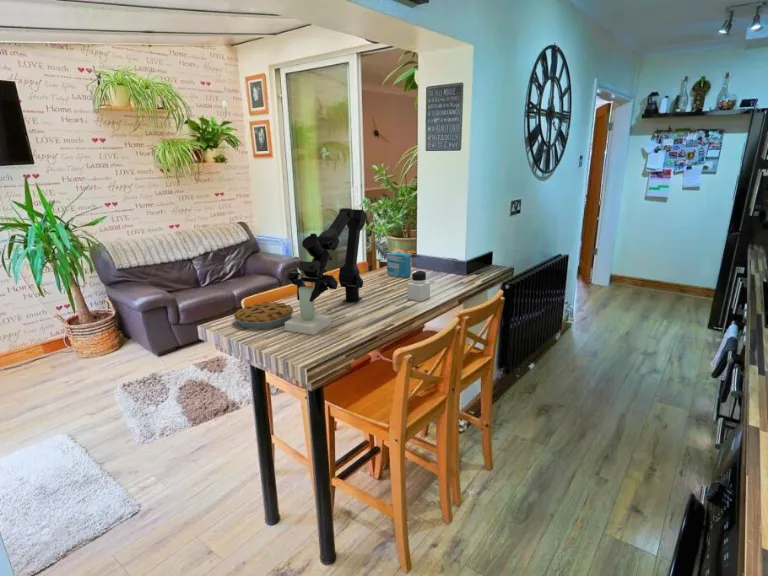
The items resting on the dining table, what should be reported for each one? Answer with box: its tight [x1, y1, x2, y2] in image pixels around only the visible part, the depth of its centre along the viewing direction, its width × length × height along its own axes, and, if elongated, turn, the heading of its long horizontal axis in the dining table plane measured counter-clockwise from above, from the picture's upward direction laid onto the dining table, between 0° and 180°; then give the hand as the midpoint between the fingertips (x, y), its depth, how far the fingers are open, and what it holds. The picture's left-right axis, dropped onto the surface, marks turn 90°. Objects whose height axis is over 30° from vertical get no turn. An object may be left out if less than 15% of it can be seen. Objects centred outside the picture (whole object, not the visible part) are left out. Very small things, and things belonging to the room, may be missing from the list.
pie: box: [233, 301, 295, 330], centre depth 170 cm, size 22×22×5 cm
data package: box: [386, 251, 412, 279], centre depth 229 cm, size 12×4×12 cm, turn 54°
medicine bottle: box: [407, 270, 431, 303], centre depth 191 cm, size 7×7×12 cm
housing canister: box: [298, 285, 316, 319], centre depth 160 cm, size 5×5×11 cm
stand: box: [284, 313, 332, 336], centre depth 162 cm, size 12×12×3 cm
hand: (304, 300), depth 158 cm, fingers closed on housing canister, 5 cm apart
